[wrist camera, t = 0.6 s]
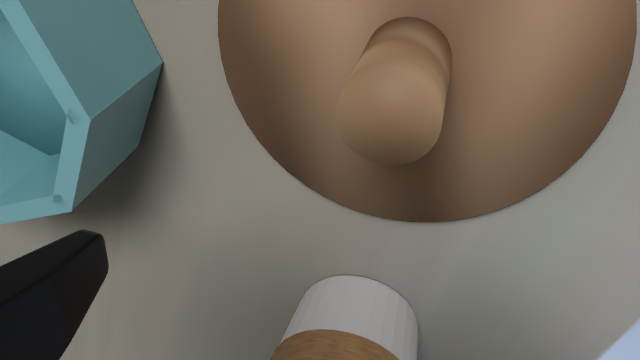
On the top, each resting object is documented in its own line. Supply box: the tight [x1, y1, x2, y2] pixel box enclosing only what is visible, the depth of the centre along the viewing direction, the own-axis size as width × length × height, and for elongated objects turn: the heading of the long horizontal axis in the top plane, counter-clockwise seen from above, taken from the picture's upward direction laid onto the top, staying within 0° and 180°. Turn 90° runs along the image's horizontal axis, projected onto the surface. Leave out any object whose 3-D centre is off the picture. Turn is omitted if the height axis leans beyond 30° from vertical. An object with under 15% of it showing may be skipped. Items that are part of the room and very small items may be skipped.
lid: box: [218, 0, 637, 222], centre depth 18 cm, size 14×14×5 cm
